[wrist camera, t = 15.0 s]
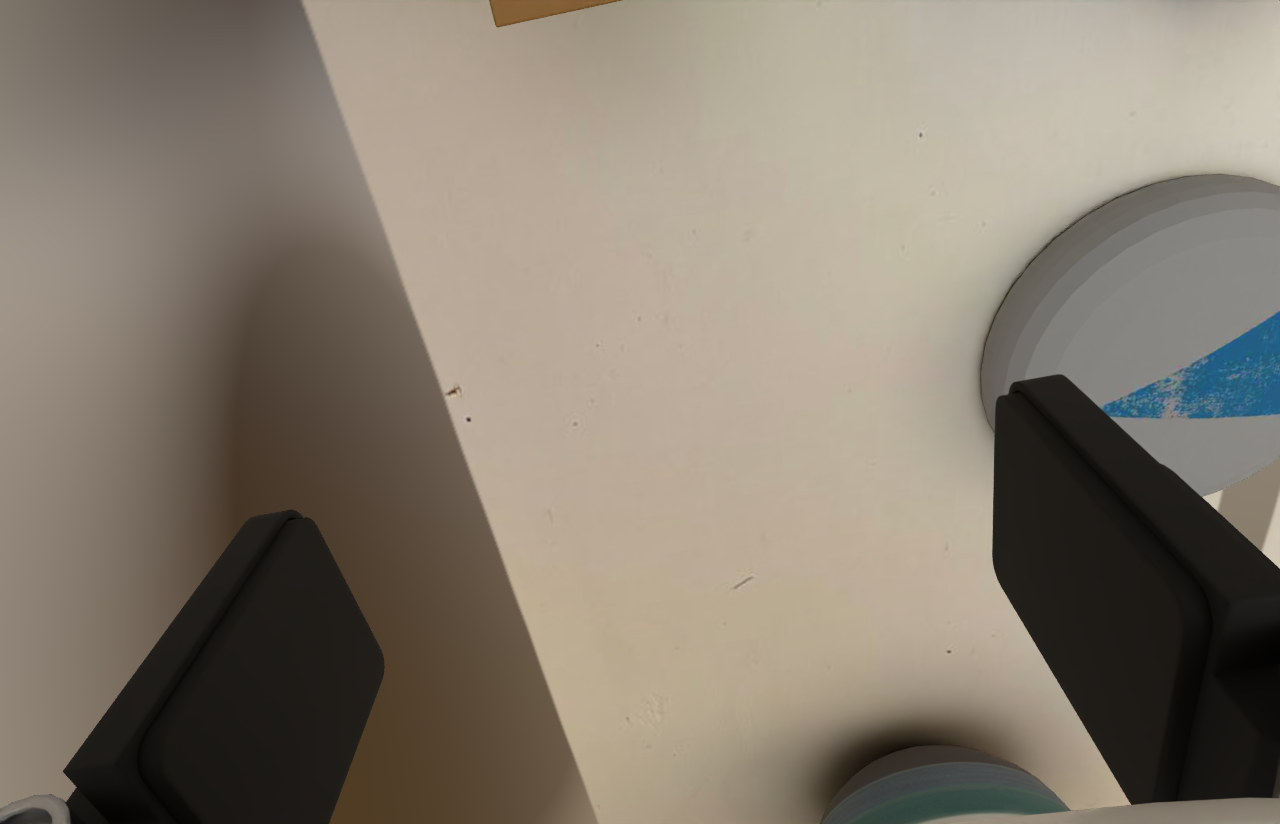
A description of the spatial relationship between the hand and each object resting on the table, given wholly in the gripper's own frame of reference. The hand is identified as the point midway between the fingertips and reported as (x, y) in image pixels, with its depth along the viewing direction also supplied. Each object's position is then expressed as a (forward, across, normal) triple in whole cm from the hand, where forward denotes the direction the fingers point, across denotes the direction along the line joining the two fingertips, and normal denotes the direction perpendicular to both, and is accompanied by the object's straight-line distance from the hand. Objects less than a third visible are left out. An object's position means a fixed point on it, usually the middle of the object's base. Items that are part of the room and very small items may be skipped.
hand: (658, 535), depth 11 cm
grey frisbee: (+30, -25, +16) cm, 42 cm away
